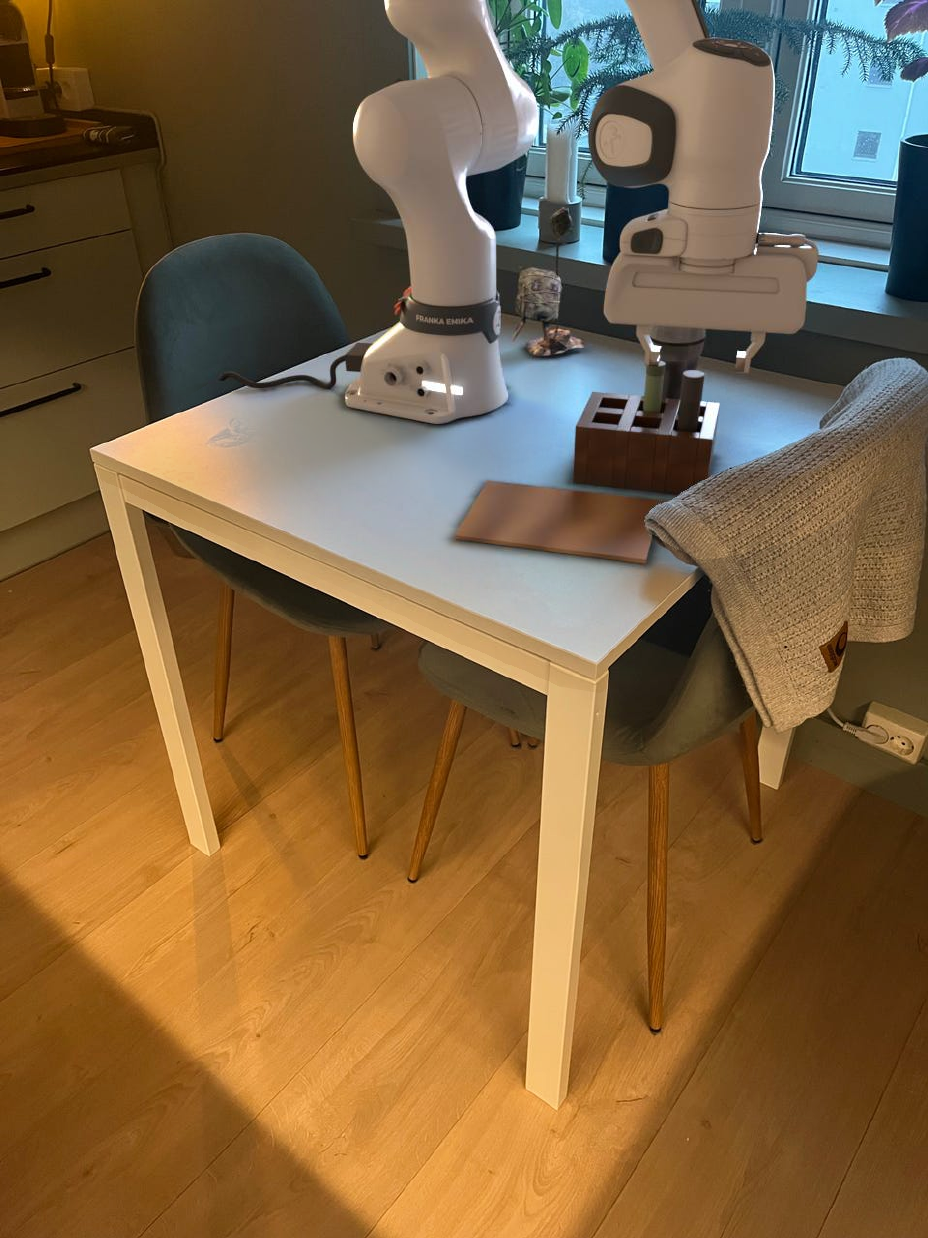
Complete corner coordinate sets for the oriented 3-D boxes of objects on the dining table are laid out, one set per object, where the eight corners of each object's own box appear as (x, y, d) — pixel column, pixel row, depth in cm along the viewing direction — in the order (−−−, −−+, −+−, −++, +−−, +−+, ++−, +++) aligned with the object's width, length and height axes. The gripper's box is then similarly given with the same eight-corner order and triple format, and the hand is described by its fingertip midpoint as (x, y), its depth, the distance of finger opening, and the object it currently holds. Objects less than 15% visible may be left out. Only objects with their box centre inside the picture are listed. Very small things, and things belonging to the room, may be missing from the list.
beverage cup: (699, 415, 126) (719, 258, 114) (691, 438, 120) (711, 274, 108) (643, 409, 128) (657, 254, 116) (633, 431, 122) (647, 270, 110)
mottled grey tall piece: (508, 341, 151) (509, 206, 139) (580, 338, 151) (586, 203, 140) (513, 359, 144) (514, 219, 133) (588, 356, 144) (595, 216, 133)
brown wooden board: (454, 539, 101) (454, 535, 101) (487, 484, 111) (487, 480, 111) (645, 564, 96) (645, 559, 96) (661, 504, 106) (661, 500, 106)
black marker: (669, 485, 110) (681, 376, 102) (671, 477, 111) (683, 369, 104) (689, 488, 109) (703, 378, 102) (691, 479, 111) (705, 370, 103)
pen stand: (572, 482, 111) (575, 426, 107) (589, 445, 119) (592, 391, 115) (705, 497, 107) (712, 439, 103) (712, 457, 115) (720, 402, 111)
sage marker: (636, 464, 114) (645, 365, 107) (639, 457, 116) (647, 358, 109) (654, 466, 114) (664, 367, 107) (656, 458, 115) (666, 360, 108)
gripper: (822, 227, 94) (798, 364, 102) (614, 220, 99) (607, 351, 107) (822, 243, 89) (798, 385, 97) (604, 235, 94) (597, 371, 102)
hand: (696, 367), depth 102 cm, fingers open, 8 cm apart
